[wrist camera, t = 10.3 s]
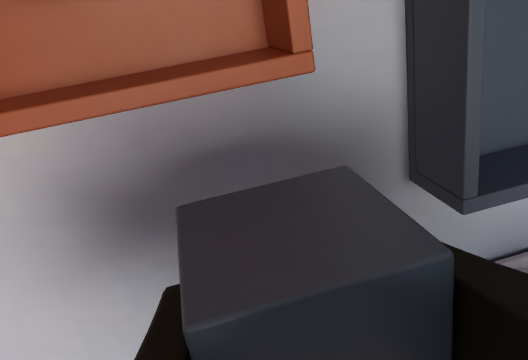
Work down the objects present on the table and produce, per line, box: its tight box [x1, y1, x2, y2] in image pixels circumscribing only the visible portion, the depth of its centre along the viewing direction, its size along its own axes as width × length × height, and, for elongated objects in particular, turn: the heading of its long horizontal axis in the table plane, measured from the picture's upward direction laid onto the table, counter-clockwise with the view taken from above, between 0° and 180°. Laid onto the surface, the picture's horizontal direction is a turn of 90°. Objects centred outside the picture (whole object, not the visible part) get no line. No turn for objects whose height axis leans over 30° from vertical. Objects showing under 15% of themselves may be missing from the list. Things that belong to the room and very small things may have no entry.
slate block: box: [176, 166, 454, 360], centre depth 9 cm, size 4×4×4 cm
